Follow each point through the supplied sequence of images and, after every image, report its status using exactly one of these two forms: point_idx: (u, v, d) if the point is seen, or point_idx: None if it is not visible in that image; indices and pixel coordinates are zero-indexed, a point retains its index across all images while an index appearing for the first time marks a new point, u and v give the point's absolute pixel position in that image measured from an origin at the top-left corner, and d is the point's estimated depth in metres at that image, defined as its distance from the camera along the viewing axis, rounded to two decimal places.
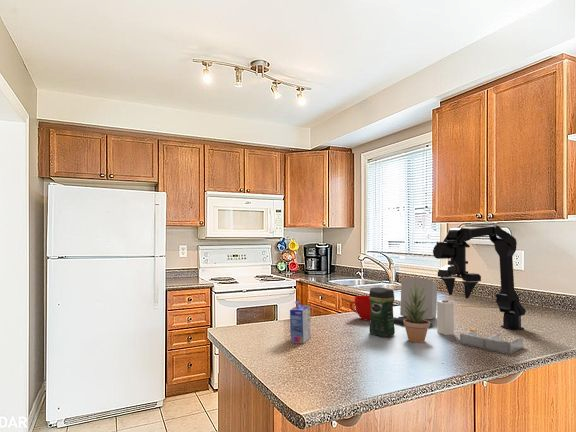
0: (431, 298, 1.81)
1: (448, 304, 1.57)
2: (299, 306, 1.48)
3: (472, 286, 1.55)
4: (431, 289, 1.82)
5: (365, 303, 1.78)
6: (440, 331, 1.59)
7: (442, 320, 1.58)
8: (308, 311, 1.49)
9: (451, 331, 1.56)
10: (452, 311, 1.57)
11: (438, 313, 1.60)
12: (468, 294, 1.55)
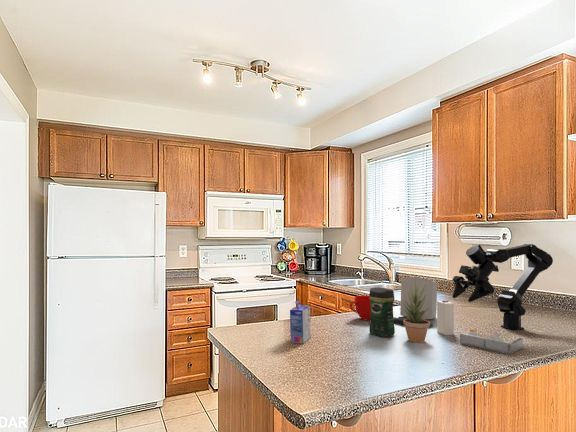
0: (431, 298, 1.81)
1: (448, 304, 1.57)
2: (299, 306, 1.48)
3: (480, 295, 1.57)
4: (431, 289, 1.82)
5: (365, 303, 1.78)
6: (440, 331, 1.59)
7: (442, 320, 1.58)
8: (308, 311, 1.49)
9: (451, 331, 1.56)
10: (452, 311, 1.57)
11: (438, 313, 1.60)
12: (473, 298, 1.57)
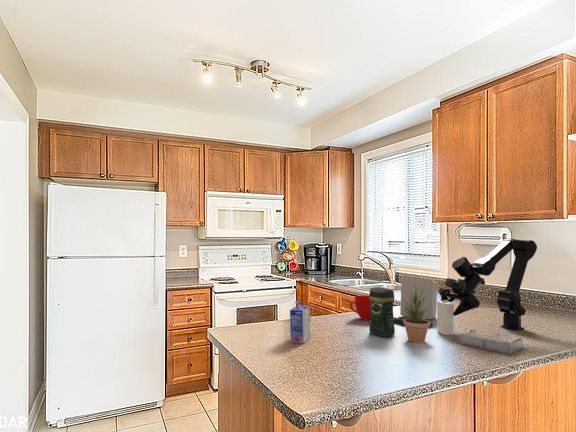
0: (431, 298, 1.81)
1: (448, 304, 1.57)
2: (299, 306, 1.48)
3: (466, 309, 1.55)
4: (431, 289, 1.82)
5: (365, 303, 1.78)
6: (440, 331, 1.59)
7: (442, 320, 1.58)
8: (308, 311, 1.49)
9: (451, 331, 1.56)
10: (452, 311, 1.57)
11: (438, 313, 1.60)
12: (458, 312, 1.54)
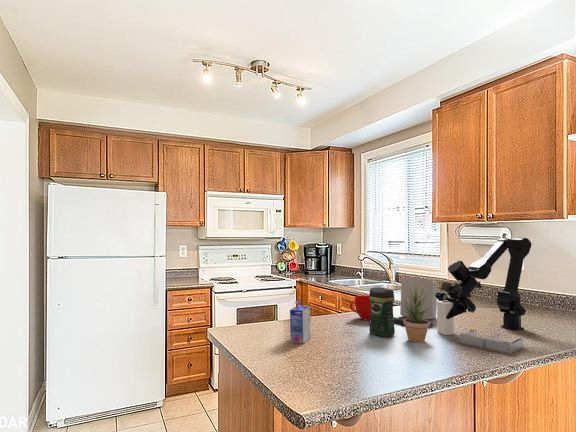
0: (431, 298, 1.81)
1: (448, 304, 1.57)
2: (299, 306, 1.48)
3: (458, 312, 1.56)
4: (431, 289, 1.82)
5: (365, 303, 1.78)
6: (440, 331, 1.59)
7: (442, 320, 1.58)
8: (308, 311, 1.49)
9: (451, 331, 1.56)
10: None
11: (438, 313, 1.60)
12: (451, 315, 1.56)
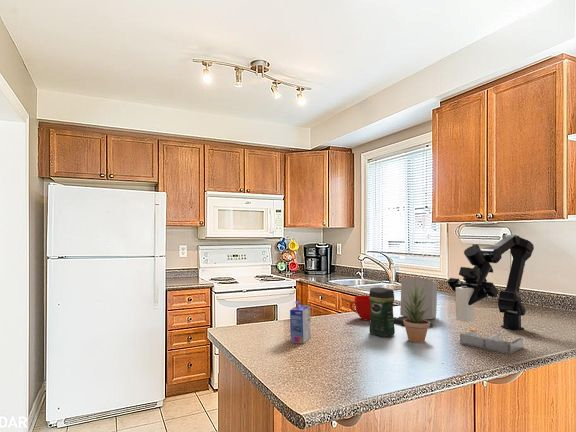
0: (431, 298, 1.81)
1: (469, 289, 1.50)
2: (299, 306, 1.48)
3: (479, 297, 1.50)
4: (431, 289, 1.82)
5: (365, 303, 1.78)
6: (460, 318, 1.51)
7: (463, 307, 1.50)
8: (308, 311, 1.49)
9: (472, 318, 1.50)
10: None
11: (457, 300, 1.52)
12: (473, 301, 1.49)
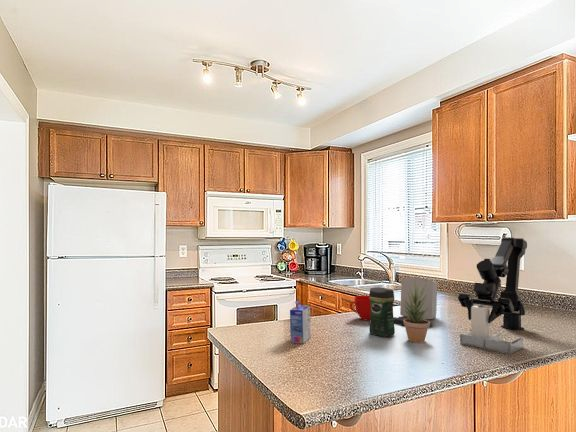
0: (431, 298, 1.81)
1: (486, 309, 1.44)
2: (299, 306, 1.48)
3: (497, 314, 1.44)
4: (431, 289, 1.82)
5: (365, 303, 1.78)
6: None
7: (480, 327, 1.44)
8: (308, 311, 1.49)
9: None
10: (488, 316, 1.45)
11: (473, 319, 1.45)
12: (492, 319, 1.42)
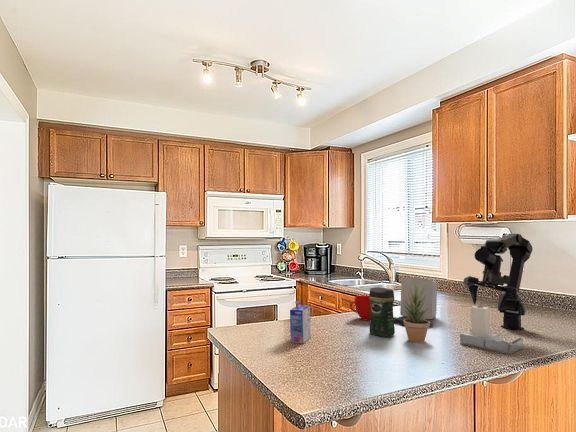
0: (431, 298, 1.81)
1: (486, 309, 1.44)
2: (299, 306, 1.48)
3: None
4: (431, 289, 1.82)
5: (365, 303, 1.78)
6: None
7: (480, 327, 1.44)
8: (308, 311, 1.49)
9: None
10: (488, 316, 1.44)
11: (473, 320, 1.45)
12: None
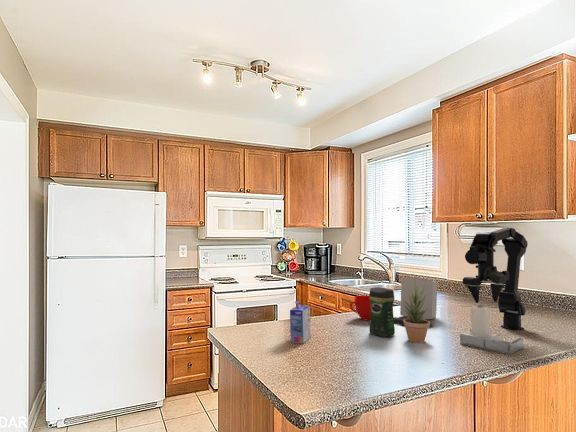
0: (431, 298, 1.81)
1: (486, 309, 1.44)
2: (299, 306, 1.48)
3: None
4: (431, 289, 1.82)
5: (365, 303, 1.78)
6: None
7: (480, 327, 1.44)
8: (308, 311, 1.49)
9: None
10: (488, 316, 1.44)
11: (473, 320, 1.45)
12: None
